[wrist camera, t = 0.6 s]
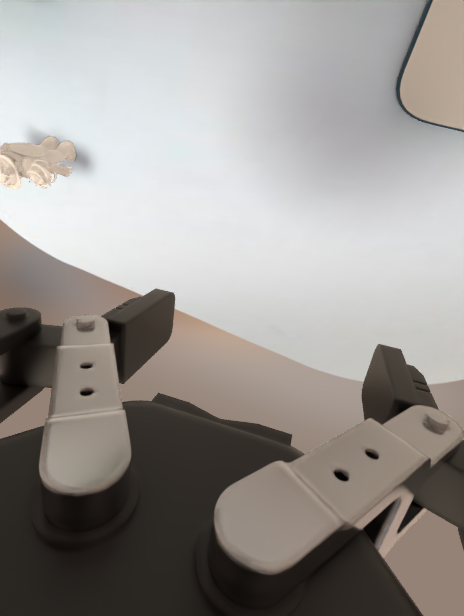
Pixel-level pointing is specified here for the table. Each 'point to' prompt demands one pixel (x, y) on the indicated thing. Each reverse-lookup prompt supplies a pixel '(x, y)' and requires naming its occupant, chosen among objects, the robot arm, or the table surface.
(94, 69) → the table surface
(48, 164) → the hat wearing toy figure
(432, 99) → the external hard drive
